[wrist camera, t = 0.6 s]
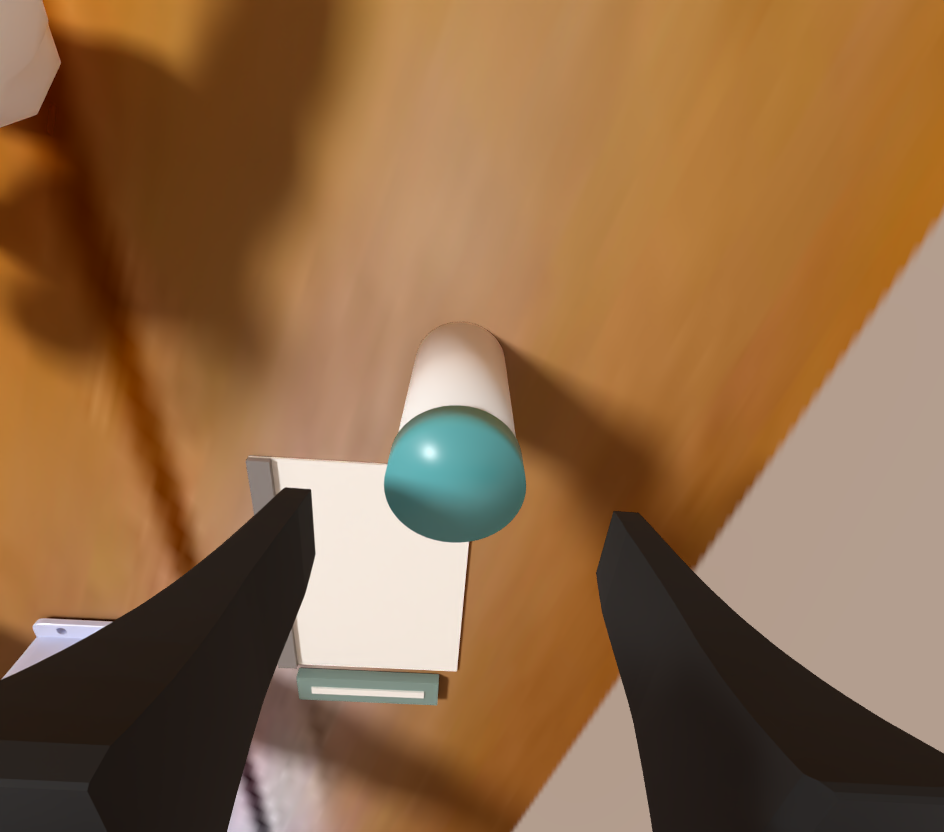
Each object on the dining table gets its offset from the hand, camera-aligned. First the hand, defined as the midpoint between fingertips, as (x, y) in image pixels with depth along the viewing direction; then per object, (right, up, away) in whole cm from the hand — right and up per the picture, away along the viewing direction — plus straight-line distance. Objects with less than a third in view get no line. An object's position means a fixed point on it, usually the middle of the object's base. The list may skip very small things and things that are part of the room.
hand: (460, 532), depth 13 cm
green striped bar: (-6, -13, +18) cm, 23 cm away
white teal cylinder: (0, +5, +9) cm, 10 cm away
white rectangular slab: (-5, -5, +14) cm, 16 cm away
